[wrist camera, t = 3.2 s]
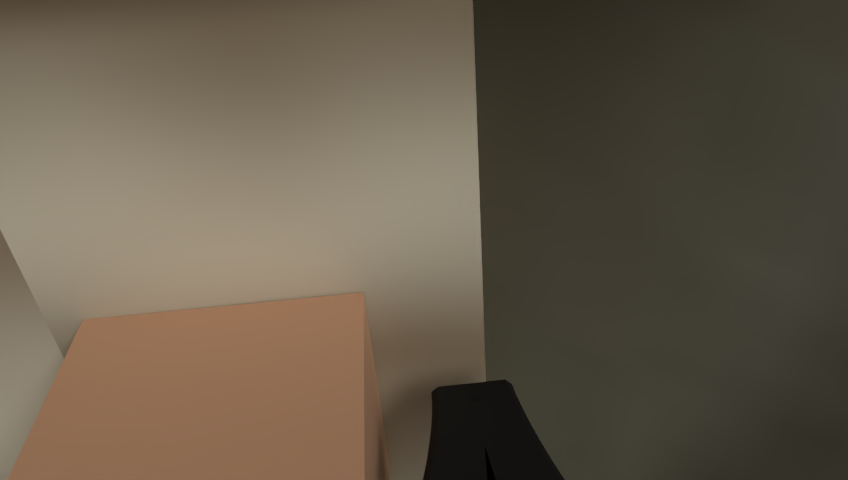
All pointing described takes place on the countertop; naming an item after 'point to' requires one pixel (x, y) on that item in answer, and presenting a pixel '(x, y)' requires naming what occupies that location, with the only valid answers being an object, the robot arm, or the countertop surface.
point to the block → (215, 397)
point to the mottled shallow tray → (241, 181)
